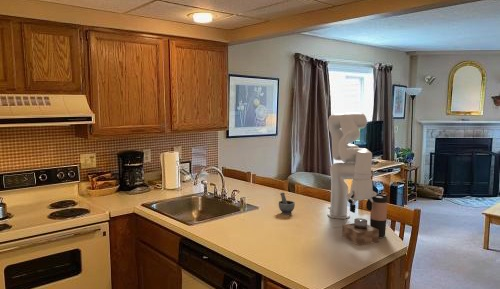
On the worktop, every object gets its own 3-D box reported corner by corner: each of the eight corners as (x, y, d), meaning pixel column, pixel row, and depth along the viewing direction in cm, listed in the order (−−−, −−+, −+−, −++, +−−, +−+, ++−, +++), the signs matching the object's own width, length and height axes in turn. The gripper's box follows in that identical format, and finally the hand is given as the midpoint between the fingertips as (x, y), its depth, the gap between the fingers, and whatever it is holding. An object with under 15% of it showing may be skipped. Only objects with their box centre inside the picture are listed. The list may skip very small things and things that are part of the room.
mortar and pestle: (297, 215, 214) (298, 195, 212) (284, 217, 209) (284, 196, 208) (287, 210, 224) (287, 191, 222) (274, 211, 219) (274, 192, 218)
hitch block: (342, 236, 179) (342, 224, 178) (362, 233, 183) (362, 222, 183) (357, 245, 168) (358, 232, 167) (378, 241, 172) (379, 229, 172)
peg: (351, 236, 177) (351, 219, 176) (361, 235, 179) (361, 217, 178) (358, 241, 172) (359, 222, 171) (369, 239, 174) (370, 221, 173)
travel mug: (366, 233, 184) (368, 195, 182) (378, 231, 186) (380, 193, 184) (376, 238, 177) (378, 198, 174) (388, 236, 179) (391, 197, 177)
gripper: (372, 173, 179) (370, 206, 181) (342, 175, 173) (341, 210, 175) (382, 176, 172) (380, 211, 174) (352, 179, 166) (350, 215, 168)
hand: (360, 210), depth 175 cm, fingers open, 9 cm apart
